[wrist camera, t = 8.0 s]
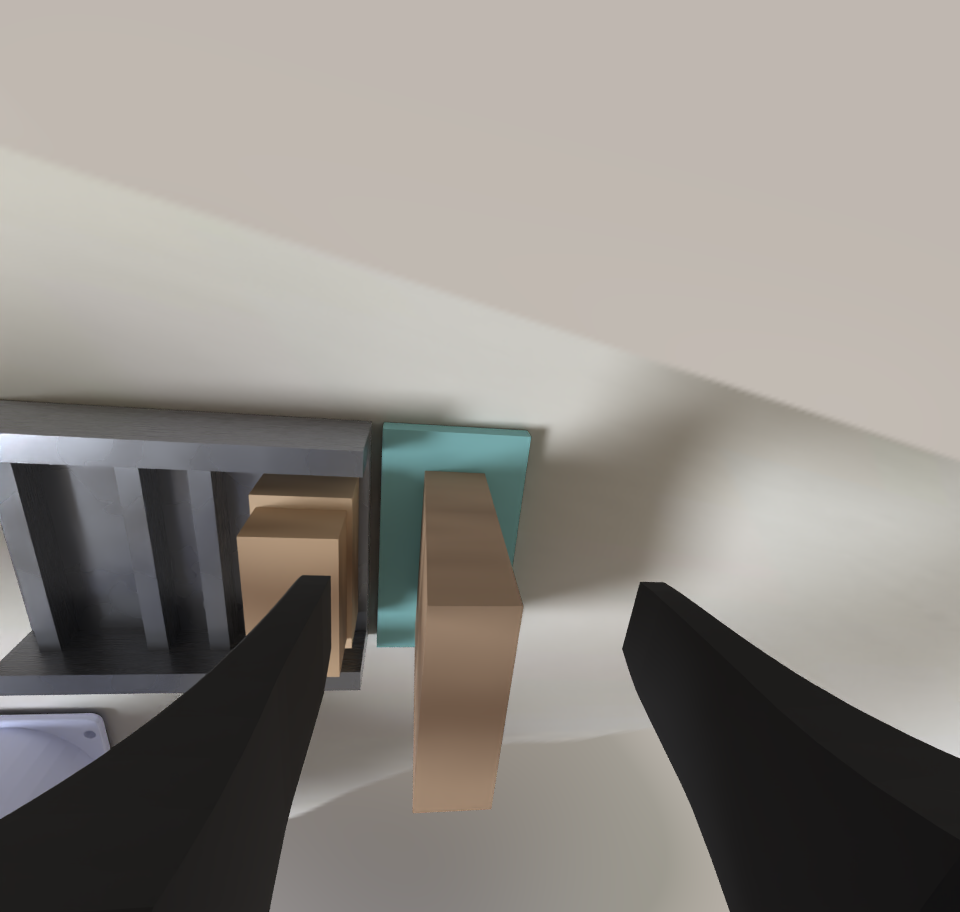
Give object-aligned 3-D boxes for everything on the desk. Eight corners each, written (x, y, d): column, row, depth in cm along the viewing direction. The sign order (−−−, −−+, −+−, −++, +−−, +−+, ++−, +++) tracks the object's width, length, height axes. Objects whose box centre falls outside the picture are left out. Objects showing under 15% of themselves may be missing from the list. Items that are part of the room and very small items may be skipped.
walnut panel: (467, 625, 24) (490, 809, 16) (415, 625, 23) (412, 812, 16) (484, 473, 21) (523, 606, 13) (424, 470, 20) (427, 606, 13)
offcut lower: (357, 613, 23) (351, 648, 21) (275, 612, 22) (261, 648, 20) (358, 473, 20) (352, 498, 18) (266, 469, 20) (248, 494, 18)
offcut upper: (346, 638, 21) (339, 676, 19) (265, 638, 20) (249, 678, 18) (346, 510, 18) (338, 539, 17) (255, 507, 18) (236, 536, 16)
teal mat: (498, 635, 25) (500, 646, 24) (378, 635, 24) (376, 647, 24) (527, 430, 21) (531, 437, 20) (384, 422, 20) (382, 428, 20)
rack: (367, 635, 24) (360, 689, 21) (50, 635, 22) (-9, 695, 19) (371, 421, 20) (363, 451, 17) (-16, 399, 18) (-103, 428, 15)
